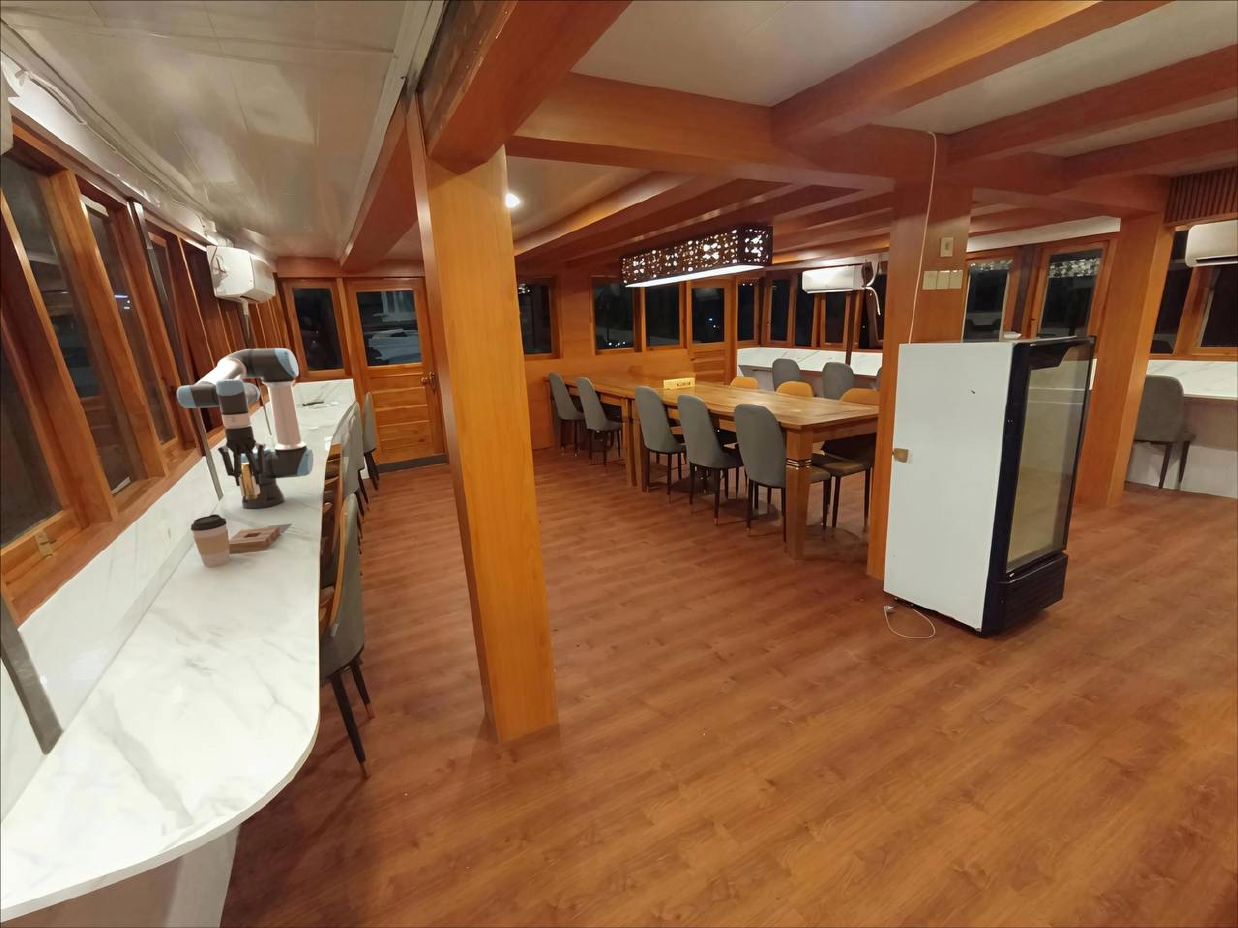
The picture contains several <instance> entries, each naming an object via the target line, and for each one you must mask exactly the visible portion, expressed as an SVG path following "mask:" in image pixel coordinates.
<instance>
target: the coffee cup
mask: <svg viewBox="0 0 1238 928" xmlns="http://www.w3.org/2000/svg"><path fill="white" fill-rule="evenodd" d="M190 526H191V527H190V531H192V533H193V539H194V542H195V545H196V548H197V551H198V553H199V555H200V558H201V560H202V564H203V565H204V567H207V568H208V567H209V568H212V567H218V566H221V565H225V564H227V563H229V562H230V561H231V553H230V552H229V540H230V539H229V532H228V531H229V530H228V528H227V520H226V519H225V518H223V517H222V516H220V515H219V514H216V513H215V514H214V513H213V514H210V515H207V516H204V517H200V518H197V519H195V520H193V523H192V524H190Z"/></svg>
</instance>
